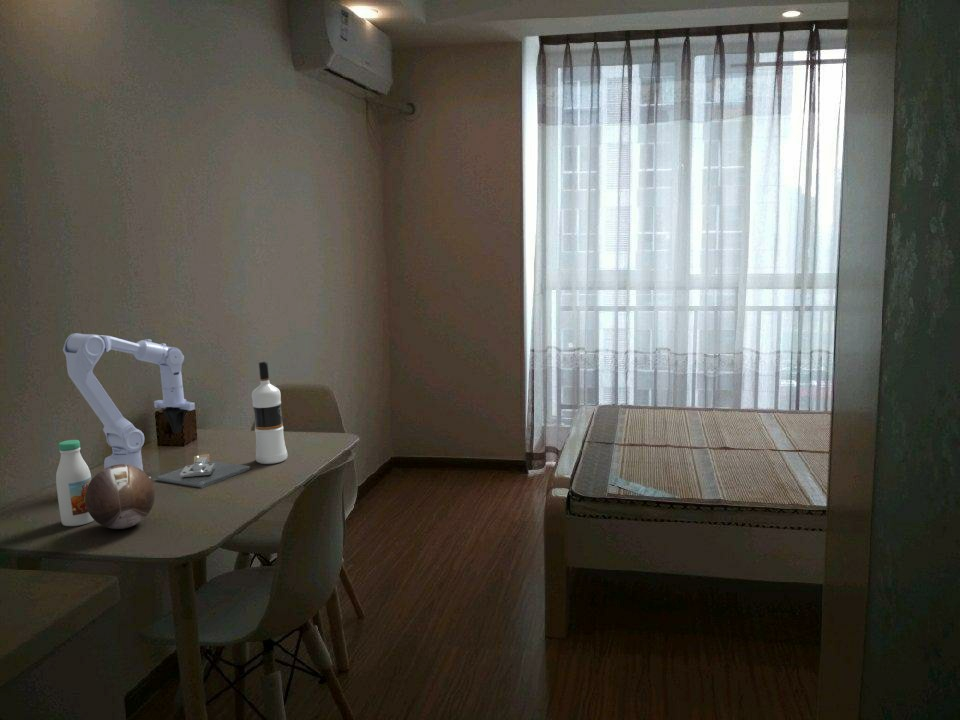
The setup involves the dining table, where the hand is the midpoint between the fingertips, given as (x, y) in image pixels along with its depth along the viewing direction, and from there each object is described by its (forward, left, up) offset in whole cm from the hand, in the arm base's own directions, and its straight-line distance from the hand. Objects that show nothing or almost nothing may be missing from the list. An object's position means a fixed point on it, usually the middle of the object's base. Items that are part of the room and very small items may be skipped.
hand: (177, 432), depth 241 cm
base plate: (-4, -13, -10) cm, 17 cm away
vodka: (+15, -22, -11) cm, 29 cm away
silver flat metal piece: (-2, -11, -9) cm, 14 cm away
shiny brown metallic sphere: (-41, -28, -11) cm, 51 cm away
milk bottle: (-43, -14, -11) cm, 46 cm away
